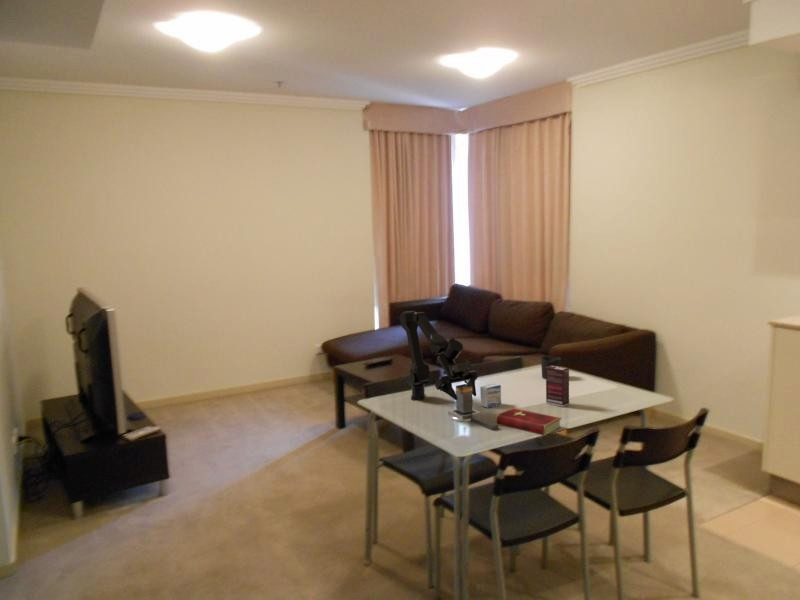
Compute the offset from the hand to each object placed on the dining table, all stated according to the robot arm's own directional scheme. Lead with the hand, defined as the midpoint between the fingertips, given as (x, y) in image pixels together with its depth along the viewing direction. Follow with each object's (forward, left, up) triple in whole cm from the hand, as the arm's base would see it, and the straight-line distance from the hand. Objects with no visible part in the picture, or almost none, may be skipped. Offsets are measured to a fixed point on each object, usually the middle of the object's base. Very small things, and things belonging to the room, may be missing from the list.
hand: (466, 397), depth 241 cm
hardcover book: (+10, +23, -9) cm, 26 cm away
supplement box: (-16, +39, -8) cm, 43 cm away
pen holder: (-60, +45, -8) cm, 76 cm away
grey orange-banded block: (-1, -1, -8) cm, 8 cm away
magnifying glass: (+4, +3, -8) cm, 10 cm away
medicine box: (-16, +11, -8) cm, 21 cm away
